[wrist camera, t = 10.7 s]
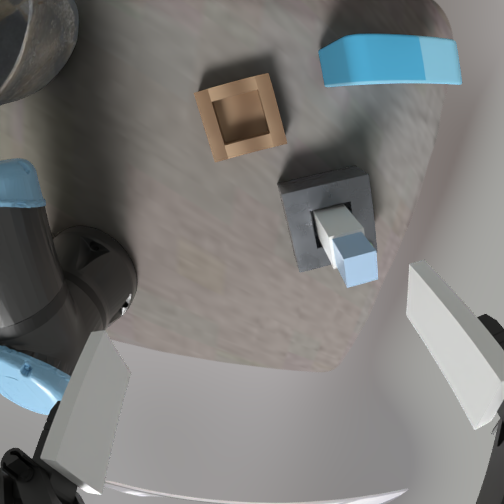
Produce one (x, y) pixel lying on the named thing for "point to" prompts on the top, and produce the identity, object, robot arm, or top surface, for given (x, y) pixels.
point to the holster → (241, 117)
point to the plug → (346, 244)
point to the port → (319, 196)
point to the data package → (390, 60)
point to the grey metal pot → (34, 44)
